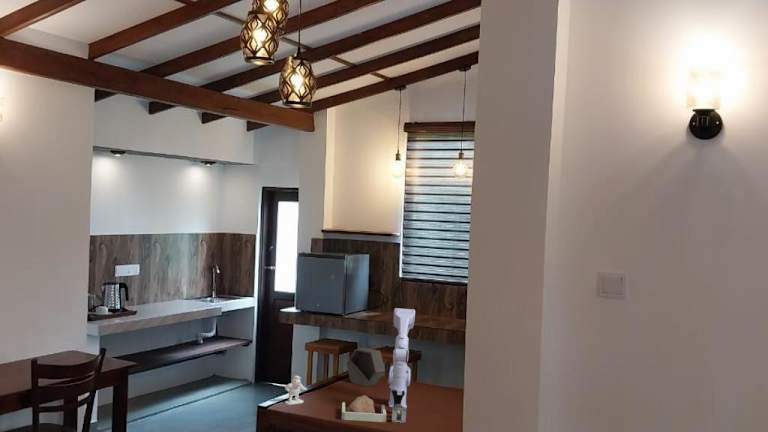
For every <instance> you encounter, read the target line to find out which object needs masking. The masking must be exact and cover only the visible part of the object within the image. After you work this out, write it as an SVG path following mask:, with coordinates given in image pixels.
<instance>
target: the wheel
mask: <svg viewBox="0 0 768 432" xmlns="http://www.w3.org/2000/svg"><path fill="white" fill-rule="evenodd" d="M394 407H403V406H402V405H400V404H396V405H394ZM392 410H393V407H391V411H392ZM397 419H401V411H399V410H397Z"/></svg>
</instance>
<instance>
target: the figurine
mask: <svg viewBox="0 0 768 432" xmlns="http://www.w3.org/2000/svg"><path fill="white" fill-rule="evenodd" d="M301 380H302V377H301V376H300V375H294V376H293V379H292V382H291V383H288V384H286V385H285V386H284V389H285V391H286V392H287V393H288V400H286V401H285V402H284V404H285V405H286V406H287V405H288V406H291V405H299V404H303V403H304V399H300V396H299V395H300V394H299V393H300V392H301V391H305V392H306V391H307V390H308V388H306V387H305V386H304V385H303V384H302V382H301ZM293 396H294V399H293Z"/></svg>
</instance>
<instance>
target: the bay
mask: <svg viewBox="0 0 768 432" xmlns="http://www.w3.org/2000/svg"><path fill="white" fill-rule="evenodd" d="M341 403H342V404H341V420H344V421H357V422H358V421H359V422H372V423H373V422H375V423H376V422H377V423H387V409H386V405H385V404H381V410H380V412H381V413H375V414H374V413H357V412H347V411H346V402H345V401H343V402H341Z"/></svg>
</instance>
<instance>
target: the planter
mask: <svg viewBox="0 0 768 432" xmlns="http://www.w3.org/2000/svg"><path fill="white" fill-rule="evenodd" d="M346 366H347V367H346V368H347V372H348V375H349V379H350V383H351V384H354V385H358V386H363V387H366V388H367V387H372V386H376V385H377V384H378V382H379V381H380V379H381V378H382V376H383V375H384V373H385V372H386V368H385V363H384V360H383V356H382V352H381V350H376V349H373V348H370V347H369V348H368V347H360V348H355V349H354V350H353V352H352V354H351V355H350V357H349V359H348V360H347V361H346Z"/></svg>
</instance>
